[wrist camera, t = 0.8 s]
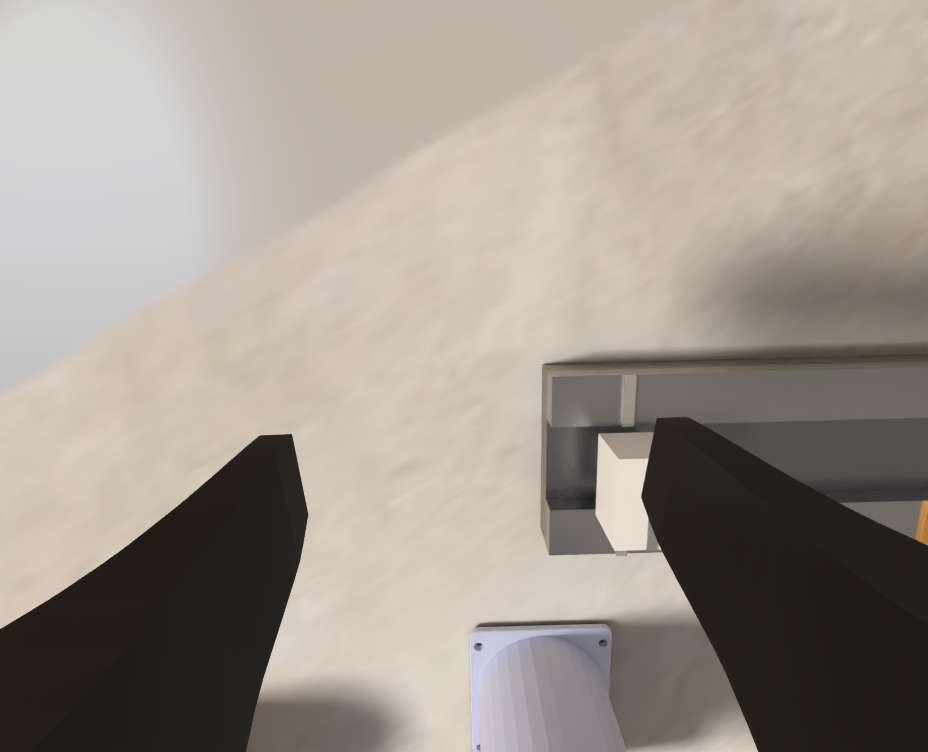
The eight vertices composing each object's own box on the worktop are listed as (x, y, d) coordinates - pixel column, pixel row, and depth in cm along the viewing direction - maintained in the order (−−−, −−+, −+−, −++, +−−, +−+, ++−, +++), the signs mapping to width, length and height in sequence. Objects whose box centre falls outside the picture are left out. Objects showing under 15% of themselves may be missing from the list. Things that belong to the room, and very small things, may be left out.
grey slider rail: (963, 515, 28) (1019, 544, 25) (540, 526, 28) (549, 557, 25) (998, 352, 26) (1064, 364, 23) (542, 364, 26) (552, 377, 23)
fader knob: (647, 497, 25) (688, 550, 21) (586, 498, 25) (615, 552, 21) (652, 420, 25) (696, 458, 20) (589, 422, 24) (619, 460, 20)
